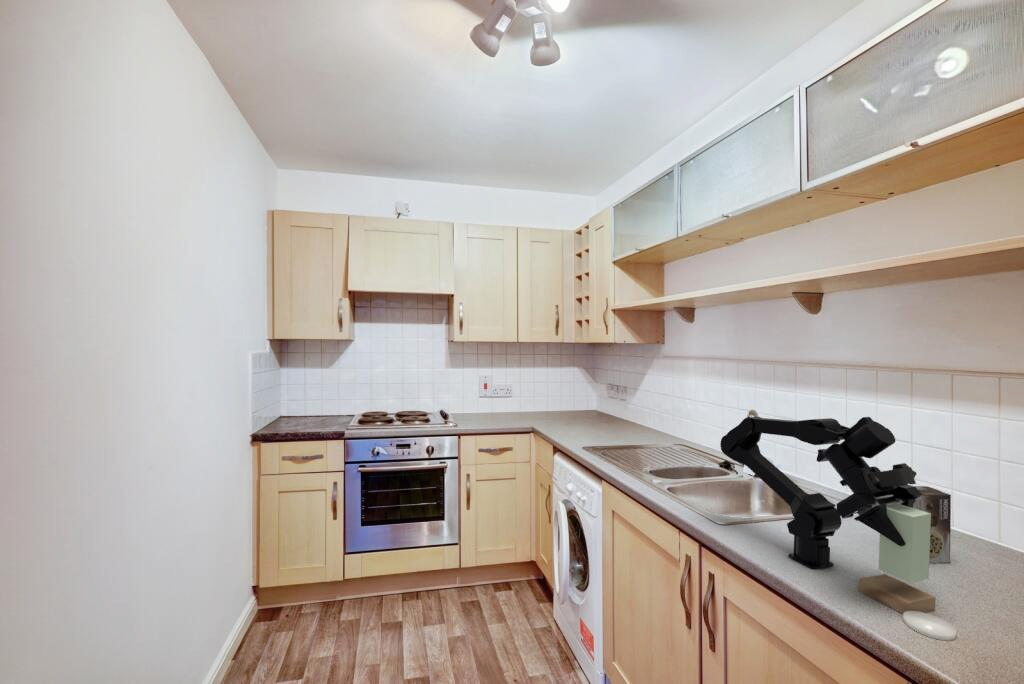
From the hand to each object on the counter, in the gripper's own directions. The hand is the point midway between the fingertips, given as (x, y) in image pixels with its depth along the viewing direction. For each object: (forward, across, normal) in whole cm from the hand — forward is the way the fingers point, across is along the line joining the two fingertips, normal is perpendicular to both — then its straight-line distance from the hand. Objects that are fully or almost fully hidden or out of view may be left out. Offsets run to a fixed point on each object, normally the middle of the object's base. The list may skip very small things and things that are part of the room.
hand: (912, 543), depth 88 cm
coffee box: (0, +28, +18) cm, 33 cm away
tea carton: (+4, 0, +6) cm, 7 cm away
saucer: (+12, -4, +5) cm, 14 cm away
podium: (+7, 0, +11) cm, 13 cm away
